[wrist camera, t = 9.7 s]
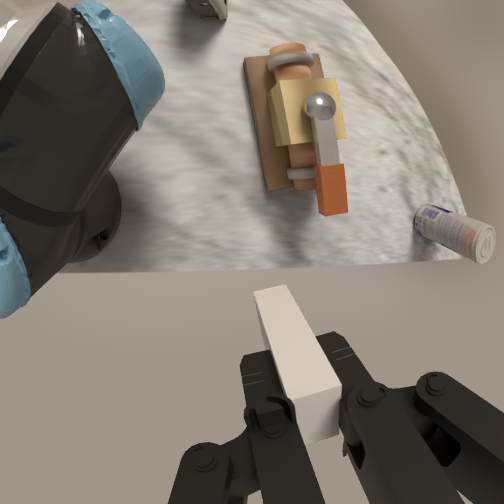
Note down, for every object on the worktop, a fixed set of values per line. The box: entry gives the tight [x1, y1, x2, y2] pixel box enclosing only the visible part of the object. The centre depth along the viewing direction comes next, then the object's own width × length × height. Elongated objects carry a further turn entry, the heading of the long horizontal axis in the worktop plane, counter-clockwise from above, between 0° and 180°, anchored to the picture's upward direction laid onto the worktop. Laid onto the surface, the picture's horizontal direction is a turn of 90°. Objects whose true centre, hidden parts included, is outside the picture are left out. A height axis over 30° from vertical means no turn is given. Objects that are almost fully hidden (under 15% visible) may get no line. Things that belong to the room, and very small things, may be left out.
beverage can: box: [415, 204, 496, 264], centre depth 36 cm, size 6×6×15 cm
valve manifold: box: [243, 43, 347, 191], centre depth 31 cm, size 10×18×9 cm, turn 10°
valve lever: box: [302, 92, 348, 216], centre depth 27 cm, size 12×3×2 cm, turn 9°
